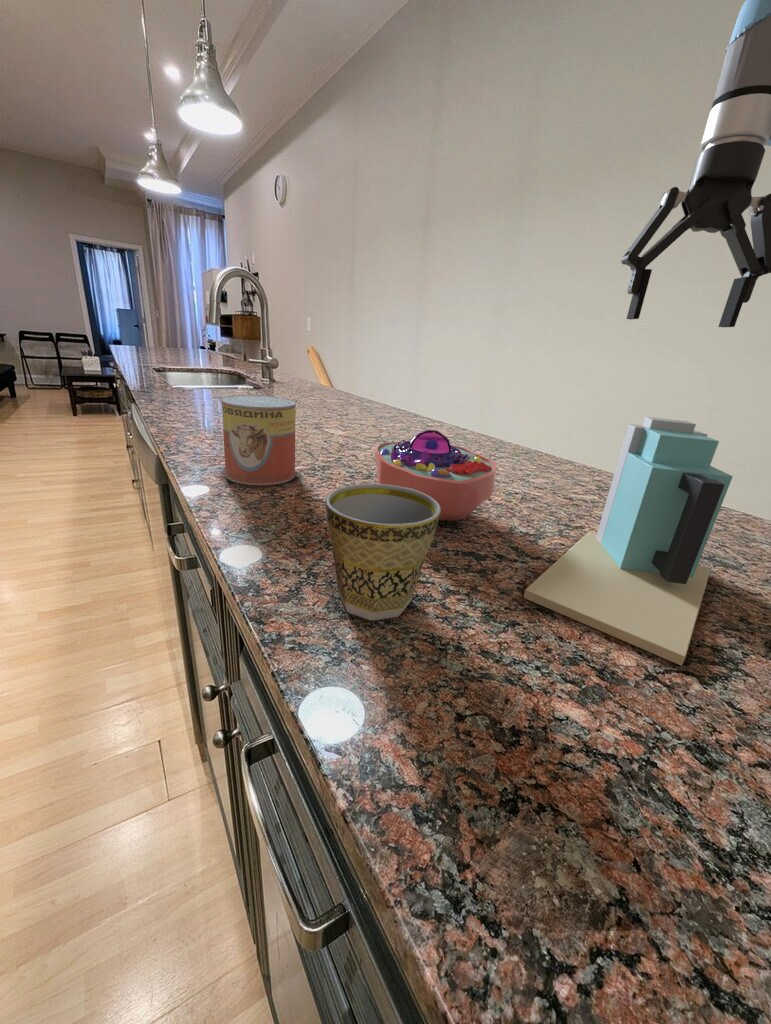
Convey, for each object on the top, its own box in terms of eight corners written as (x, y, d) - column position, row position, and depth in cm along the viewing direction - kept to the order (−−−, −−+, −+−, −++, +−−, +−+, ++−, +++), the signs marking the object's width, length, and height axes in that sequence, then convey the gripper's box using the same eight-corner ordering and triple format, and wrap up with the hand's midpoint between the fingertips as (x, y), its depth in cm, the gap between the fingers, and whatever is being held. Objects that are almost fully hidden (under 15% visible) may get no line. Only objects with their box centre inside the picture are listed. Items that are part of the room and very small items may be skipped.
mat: (587, 536, 61) (589, 530, 61) (708, 575, 53) (711, 568, 53) (523, 597, 45) (524, 589, 45) (681, 666, 37) (685, 656, 37)
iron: (630, 415, 53) (684, 437, 41) (701, 422, 52) (776, 446, 41) (595, 537, 59) (634, 586, 47) (658, 545, 58) (712, 596, 47)
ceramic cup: (402, 647, 36) (416, 536, 33) (300, 609, 40) (301, 505, 36) (449, 578, 47) (463, 489, 44) (366, 553, 51) (372, 469, 47)
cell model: (369, 538, 55) (376, 448, 51) (369, 485, 73) (374, 416, 69) (504, 546, 56) (522, 459, 52) (470, 493, 74) (481, 425, 70)
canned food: (213, 481, 69) (208, 402, 64) (238, 462, 79) (236, 392, 75) (286, 488, 69) (286, 410, 64) (301, 467, 79) (302, 399, 75)
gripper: (809, 165, 62) (749, 330, 70) (623, 154, 63) (586, 316, 71) (856, 143, 55) (784, 329, 63) (646, 131, 56) (602, 314, 64)
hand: (678, 323), depth 67 cm, fingers open, 13 cm apart
